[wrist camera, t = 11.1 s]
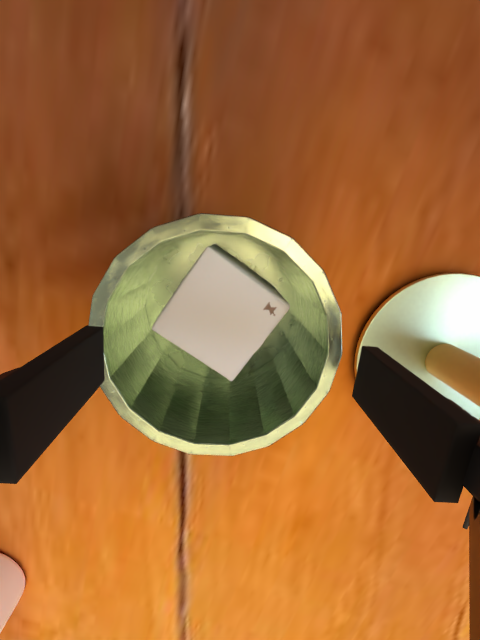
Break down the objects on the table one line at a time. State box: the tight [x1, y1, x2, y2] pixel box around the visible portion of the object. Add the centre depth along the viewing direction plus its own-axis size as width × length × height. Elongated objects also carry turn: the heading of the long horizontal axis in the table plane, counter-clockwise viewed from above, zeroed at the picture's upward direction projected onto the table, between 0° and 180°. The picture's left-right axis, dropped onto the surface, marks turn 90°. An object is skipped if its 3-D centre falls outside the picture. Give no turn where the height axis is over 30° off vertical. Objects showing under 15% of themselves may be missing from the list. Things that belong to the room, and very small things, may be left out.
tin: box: [89, 213, 342, 456], centre depth 21 cm, size 14×14×10 cm
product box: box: [152, 244, 290, 381], centre depth 22 cm, size 6×6×7 cm
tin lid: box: [354, 273, 480, 420], centre depth 23 cm, size 15×15×9 cm
